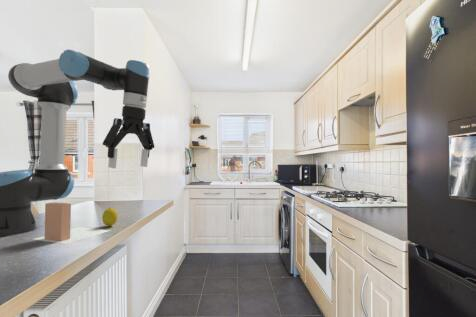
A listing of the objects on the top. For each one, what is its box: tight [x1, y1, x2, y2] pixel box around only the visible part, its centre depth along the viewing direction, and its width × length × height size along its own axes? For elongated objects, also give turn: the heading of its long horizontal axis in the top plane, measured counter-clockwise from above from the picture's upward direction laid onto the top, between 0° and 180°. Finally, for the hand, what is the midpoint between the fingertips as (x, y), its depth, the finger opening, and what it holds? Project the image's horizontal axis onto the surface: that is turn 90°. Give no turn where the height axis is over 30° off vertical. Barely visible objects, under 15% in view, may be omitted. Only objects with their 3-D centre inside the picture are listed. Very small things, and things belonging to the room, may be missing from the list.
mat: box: [33, 226, 112, 245], centre depth 91 cm, size 16×18×1 cm
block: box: [44, 201, 72, 241], centre depth 86 cm, size 8×3×12 cm, turn 70°
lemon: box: [102, 207, 118, 228], centre depth 104 cm, size 6×6×8 cm
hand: (128, 167), depth 90 cm, fingers open, 13 cm apart
